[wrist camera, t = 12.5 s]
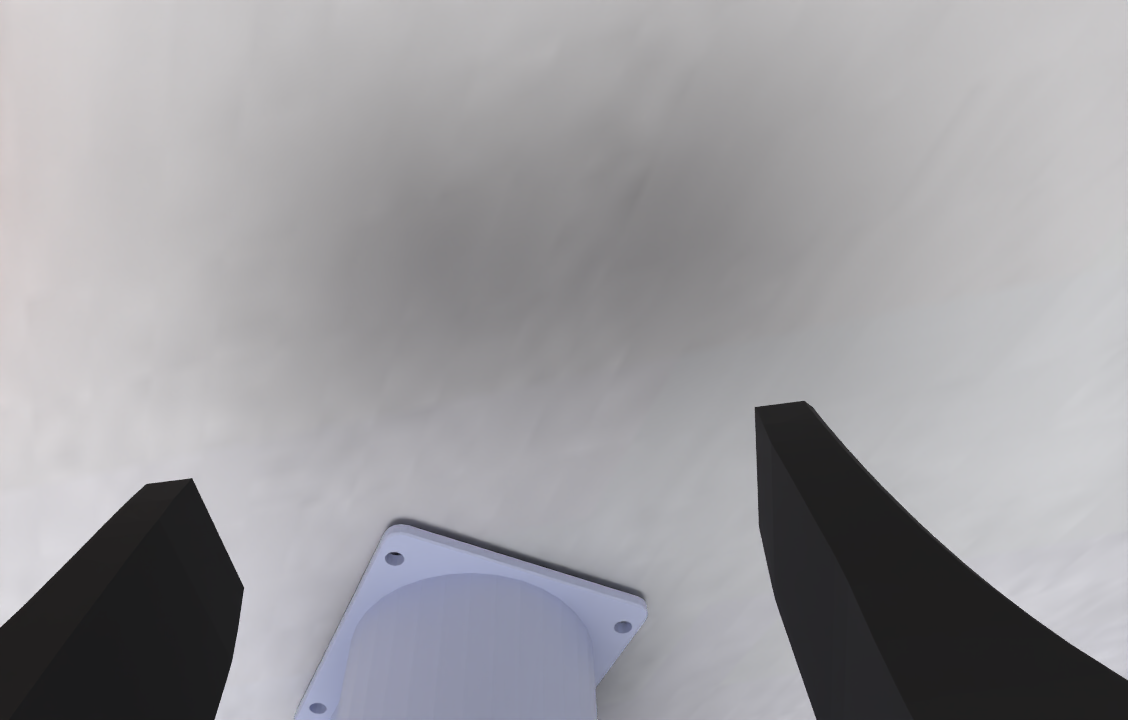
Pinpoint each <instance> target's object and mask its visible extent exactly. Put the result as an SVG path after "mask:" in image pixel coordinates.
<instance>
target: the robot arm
mask: <svg viewBox="0 0 1128 720" xmlns="http://www.w3.org/2000/svg"><path fill="white" fill-rule="evenodd" d="M755 427H756V455H757V483H758V511H759V528H760V533H761V538H762V542H763V547H764V552H765V556H766V561H767V566H768V570H769V574H770V579H771V583H772V588H773V592H774V596H775V600H776V603H777V606H778V609H779V612H780V615H781V618H782V621H783V624H784V627H785V630H786V633H787V635H788V638H789V641H790V644H791V647H792V650H793V653H794V656H795V659H796V662H797V665H798V667H799V670H800V673H801V676H802V679H803V682H804V685H805V688H806V691H807V693H808V696H809V699H810V702H811V705H812V708H813V711H814V714H815V716H816V719H817V720H1128V680H1126V679H1125V678H1123V677H1122V676H1120V675H1119V674H1117V673H1115V672H1114V671H1112V670H1111V669H1109V668H1107V667H1106V666H1104V665H1103V664H1101V663H1100V662H1098V661H1096V660H1095V659H1093V658H1092V657H1090V656H1089V655H1087V654H1085V653H1084V652H1082V651H1081V650H1079V649H1077V648H1076V647H1074V646H1073V645H1071V644H1070V643H1068V642H1067V641H1065V640H1064V639H1063V638H1061V637H1060V636H1058V635H1057V634H1056V633H1054V632H1053V631H1051V630H1050V629H1048V628H1047V627H1046V626H1044V625H1043V624H1041V623H1040V622H1039V621H1037V620H1036V619H1034V618H1033V617H1032V616H1030V615H1029V614H1028V613H1026V612H1025V611H1024V610H1022V609H1021V608H1020V607H1018V606H1017V605H1016V604H1014V603H1013V602H1012V601H1010V600H1009V599H1008V598H1007V597H1005V596H1004V595H1003V594H1001V593H1000V592H999V591H997V590H996V589H995V588H994V587H992V586H991V585H990V584H989V583H987V582H986V581H985V580H984V579H983V578H981V577H980V576H979V575H978V574H976V573H975V572H974V571H973V570H972V569H971V568H969V567H968V566H967V565H966V564H965V563H963V562H962V561H961V560H960V559H959V558H958V557H957V556H955V555H954V554H953V553H952V552H951V551H950V550H949V549H948V548H946V547H945V546H944V545H943V544H942V543H941V542H940V541H938V540H937V539H936V538H935V537H934V536H933V535H932V534H931V533H930V532H929V531H928V530H926V529H925V528H924V527H923V526H922V525H921V524H920V523H919V522H918V521H917V520H916V519H915V518H914V517H913V516H912V515H911V514H910V513H909V512H908V511H907V510H906V509H905V508H904V507H903V506H902V505H901V504H900V503H899V502H898V501H897V500H896V499H895V498H894V497H893V496H892V495H891V494H890V493H889V492H888V491H887V490H885V489H884V488H883V487H882V486H881V485H880V483H879V482H878V481H877V480H876V479H875V478H874V477H873V476H872V475H871V474H870V473H869V472H868V471H867V470H866V469H865V468H864V467H863V465H862V464H861V463H860V462H859V461H858V460H857V459H856V458H855V457H854V455H853V454H852V453H851V452H850V451H849V450H848V449H847V448H846V447H845V445H844V444H843V443H842V442H841V441H840V440H839V439H838V437H837V436H836V435H835V434H834V433H833V431H832V430H831V429H830V428H829V427H828V426H827V424H826V423H825V422H824V421H823V419H822V418H821V417H820V416H819V414H818V413H817V412H816V411H815V409H814V408H813V407H812V406H810V405H809V404H808V403H806V402H805V401H800V402H792V403H784V404H776V405H768V406H760V407H755ZM391 552H398V553H400V554H401V555H392V554H390V553H391ZM243 591H244V587H243V585H242V583H241V580H240V578H239V576H238V574H237V572H236V570H235V568H234V566H233V564H232V561H231V559H230V557H229V555H228V553H227V551H226V549H225V547H224V545H223V542H222V540H221V538H220V536H219V534H218V532H217V530H216V528H215V526H214V523H213V521H212V519H211V517H210V515H209V513H208V511H207V509H206V507H205V504H204V502H203V500H202V498H201V496H200V494H199V492H198V490H197V488H196V485H195V483H194V481H193V479H192V478H191V479H183V480H175V481H167V482H159V483H151V484H146V485H145V486H144V487H143V488H142V489H141V490H139V491H138V492H137V493H136V494H135V495H134V496H133V497H132V498H131V499H130V500H129V501H128V502H127V503H125V504H124V505H123V506H122V507H121V508H120V509H119V510H118V511H117V512H116V513H115V514H114V515H113V516H112V517H111V518H110V519H109V520H108V521H107V522H106V523H105V524H104V525H103V526H102V527H101V528H100V529H99V530H98V531H97V532H96V533H95V535H94V536H93V537H92V538H91V539H90V540H89V541H88V542H87V543H86V544H85V545H84V546H83V547H82V548H81V549H80V550H79V551H78V552H77V553H76V554H75V555H74V556H73V557H72V558H71V559H70V560H69V561H68V562H67V563H66V564H65V565H64V566H63V567H62V568H61V569H60V570H59V571H58V572H57V573H56V574H55V575H54V576H53V577H52V578H51V579H50V580H49V581H48V582H47V583H46V584H45V585H44V586H43V587H42V588H41V589H40V590H39V591H38V592H37V593H36V594H35V595H34V596H33V597H32V598H31V599H30V600H29V601H28V602H27V603H26V604H25V605H24V606H23V607H22V608H21V609H20V610H19V611H18V612H16V613H15V614H14V615H13V616H12V617H11V618H10V619H9V620H8V621H7V622H6V623H5V624H4V625H3V626H1V627H0V720H215V716H216V713H217V710H218V706H219V703H220V700H221V697H222V693H223V690H224V687H225V683H226V680H227V677H228V673H229V670H230V666H231V663H232V659H233V653H234V648H235V642H236V637H237V631H238V625H239V619H240V612H241V605H242V598H243ZM647 616H648V612H647V604H646V602H645V601H644V600H643V599H642V598H640V597H638V596H635V595H632V594H629V593H626V592H622V591H619V590H616V589H613V588H609V587H606V586H603V585H600V584H596V583H593V582H590V581H587V580H584V579H580V578H577V577H574V576H571V575H567V574H564V573H561V572H558V571H555V570H551V569H548V568H545V567H542V566H538V565H535V564H532V563H529V562H525V561H522V560H519V559H516V558H513V557H509V556H506V555H503V554H500V553H496V552H493V551H490V550H487V549H484V548H480V547H477V546H474V545H471V544H467V543H464V542H461V541H458V540H454V539H451V538H448V537H445V536H442V535H438V534H435V533H432V532H429V531H425V530H422V529H419V528H416V527H413V526H409V525H404V524H399V525H393V526H391V527H389V528H388V529H387V530H386V531H385V533H384V535H383V537H382V539H381V541H380V543H379V545H378V547H377V549H376V551H375V553H374V555H373V557H372V559H371V561H370V563H369V565H368V567H367V569H366V571H365V573H364V575H363V577H362V579H361V581H360V583H359V585H358V587H357V589H356V592H355V594H354V596H353V598H352V600H351V602H350V604H349V606H348V608H347V610H346V612H345V614H344V616H343V618H342V620H341V622H340V624H339V626H338V628H337V630H336V632H335V634H334V636H333V638H332V640H331V642H330V644H329V646H328V648H327V650H326V652H325V654H324V656H323V658H322V660H321V662H320V664H319V666H318V668H317V670H316V672H315V674H314V676H313V678H312V680H311V682H310V685H309V687H308V689H307V691H306V693H305V695H304V697H303V699H302V701H301V703H300V705H299V707H298V709H297V711H296V713H295V716H294V720H597V705H596V690H595V688H596V687H597V685H598V684H599V683H600V681H601V680H602V679H603V677H604V676H605V675H606V673H607V672H608V671H609V669H610V668H611V667H612V665H613V664H614V662H615V661H616V660H617V658H618V657H619V656H620V654H621V653H622V652H623V650H624V649H625V648H626V646H627V645H628V644H629V642H630V641H631V640H632V638H633V637H634V635H635V634H636V633H637V631H638V630H639V629H640V627H641V626H642V625H643V623H644V622H645V621H646V619H647ZM621 621H627V622H624V623H618V622H621Z"/></svg>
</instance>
